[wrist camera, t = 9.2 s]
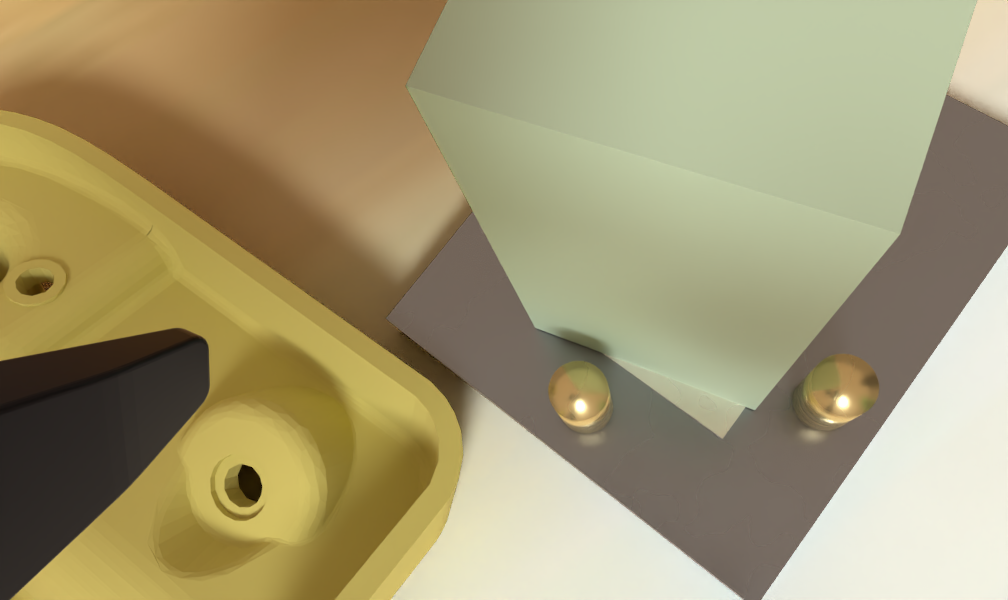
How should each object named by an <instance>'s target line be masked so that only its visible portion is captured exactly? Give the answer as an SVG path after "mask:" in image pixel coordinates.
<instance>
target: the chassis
mask: <svg viewBox="0 0 1008 600" xmlns="http://www.w3.org/2000/svg"><path fill="white" fill-rule="evenodd" d="M1007 246H1008V126H1007V125H1005V124H1003V123H1001V122H999V121H997V120H995V119H993V118H991V117H989V116H987V115H985V114H983V113H981V112H979V111H977V110H975V109H973V108H971V107H969V106H967V105H965V104H963V103H961V102H960V101H958V100H956V99H954V98H952V97H950V96H948V95H946V97H945V100H944V103H943V106H942V109H941V112H940V115H939V118H938V121H937V124H936V127H935V130H934V133H933V136H932V139H931V142H930V145H929V148H928V151H927V155H926V158H925V161H924V164H923V167H922V170H921V173H920V176H919V179H918V182H917V185H916V188H915V191H914V194H913V197H912V200H911V203H910V206H909V209H908V212H907V215H906V218H905V221H904V224H903V227H902V230H901V234H900V235H899V236H898V237H897V239H896V240H895V241H894V242H893V244H892V245H891V246H890V247H889V248H888V250H887V251H886V252H885V253H884V254H883V256H882V257H881V258H880V259H879V261H878V262H877V263H876V264H875V265H874V267H873V268H872V269H871V270H870V271H869V273H868V274H867V275H866V276H865V277H864V279H863V280H862V281H861V282H860V284H859V285H858V286H857V287H856V288H855V290H854V291H853V292H852V293H851V294H850V296H849V297H848V298H847V299H846V301H845V302H844V303H843V304H842V305H841V307H840V308H839V309H838V310H837V311H836V313H835V314H834V315H833V316H832V317H831V319H830V320H829V321H828V322H827V324H826V325H825V326H824V327H823V328H822V330H821V331H820V332H819V333H818V334H817V336H816V337H815V338H814V339H813V341H812V342H811V343H810V344H809V345H808V347H807V348H806V349H805V350H804V351H803V353H802V354H801V355H800V356H799V357H798V359H797V360H796V361H795V362H794V364H793V365H792V366H791V367H790V368H789V370H788V371H787V372H786V373H785V374H784V376H783V377H782V378H781V379H780V381H779V382H778V383H777V384H776V385H775V387H774V388H773V389H772V390H771V391H770V393H769V394H768V395H767V396H766V397H765V399H764V400H763V401H762V402H761V404H760V405H759V406H758V407H757V408H756V410H753V409H750V408H747V407H745V406H742V405H739V404H737V403H734V402H731V401H729V400H726V399H723V398H721V397H718V396H715V395H713V394H710V393H707V392H705V391H702V390H699V389H697V388H694V387H691V386H689V385H686V384H684V383H681V382H678V381H676V380H673V379H670V378H668V377H665V376H662V375H660V374H657V373H654V372H652V371H649V370H646V369H644V368H641V367H638V366H636V365H633V364H630V363H628V362H625V361H622V360H620V359H617V358H614V357H612V356H609V355H606V354H604V353H601V352H598V351H596V350H593V349H590V348H588V347H585V346H582V345H580V344H577V343H574V342H572V341H569V340H566V339H564V338H561V337H558V336H556V335H553V334H550V333H548V332H545V331H542V330H540V329H537V328H535V327H534V325H533V323H532V321H531V319H530V317H529V315H528V313H527V312H526V310H525V308H524V306H523V304H522V302H521V300H520V299H519V297H518V295H517V293H516V291H515V289H514V287H513V285H512V284H511V282H510V280H509V278H508V276H507V274H506V272H505V271H504V269H503V267H502V265H501V263H500V261H499V259H498V258H497V256H496V254H495V252H494V250H493V248H492V246H491V244H490V243H489V241H488V239H487V237H486V235H485V233H484V231H483V230H482V228H481V226H480V224H479V222H478V220H477V218H476V216H475V215H474V213H473V212H472V213H471V214H470V215H469V217H468V218H467V219H466V220H465V221H464V223H463V224H462V225H461V226H460V228H459V229H458V230H457V231H456V233H455V234H454V235H453V236H452V237H451V239H450V240H449V241H448V242H447V244H446V245H445V246H444V247H443V249H442V250H441V251H440V252H439V253H438V255H437V256H436V257H435V258H434V260H433V261H432V262H431V263H430V265H429V266H428V267H427V268H426V270H425V271H424V272H423V273H422V274H421V276H420V277H419V278H418V279H417V281H416V282H415V283H414V284H413V286H412V287H411V288H410V289H409V290H408V292H407V293H406V294H405V295H404V297H403V298H402V299H401V300H400V302H399V303H398V304H397V305H396V306H395V308H394V309H393V310H392V311H391V313H390V314H389V315H388V316H387V318H386V319H387V320H388V321H389V322H390V323H392V324H393V325H394V326H395V327H396V328H398V329H399V330H400V331H401V332H403V333H404V334H405V335H406V336H408V337H409V338H410V339H412V340H413V341H414V342H415V343H417V344H418V345H419V346H420V347H422V348H423V349H424V350H426V351H427V352H428V353H429V354H431V355H432V356H433V357H434V358H436V359H437V360H438V361H440V362H441V363H442V364H443V365H445V366H446V367H447V368H448V369H450V370H451V371H452V372H454V373H455V374H456V375H457V376H459V377H460V378H461V379H463V380H464V381H465V382H466V383H468V384H469V385H470V386H471V387H473V388H474V389H475V390H477V391H478V392H479V393H480V394H482V395H483V396H484V397H485V398H487V399H488V400H489V401H491V402H492V403H493V404H494V405H496V406H497V407H498V408H500V409H501V410H502V411H503V412H505V413H506V414H507V415H508V416H510V417H511V418H512V419H514V420H515V421H516V422H517V423H519V424H520V425H521V426H522V427H524V428H525V429H526V430H528V431H529V432H530V433H531V434H533V435H534V436H535V437H536V438H538V439H539V440H540V441H542V442H543V443H544V444H545V445H547V446H548V447H549V448H551V449H552V450H553V451H554V452H556V453H557V454H558V455H559V456H561V457H562V458H563V459H565V460H566V461H567V462H568V463H570V464H571V465H572V466H573V467H575V468H576V469H577V470H579V471H580V472H581V473H582V474H584V475H585V476H586V477H587V478H589V479H590V480H591V481H593V482H594V483H595V484H596V485H598V486H599V487H600V488H602V489H603V490H604V491H605V492H607V493H608V494H609V495H610V496H612V497H613V498H614V499H616V500H617V501H618V502H619V503H621V504H622V505H623V506H624V507H626V508H627V509H628V510H630V511H631V512H632V513H633V514H635V515H636V516H637V517H638V518H640V519H641V520H642V521H644V522H645V523H646V524H647V525H649V526H650V527H651V528H653V529H654V530H655V531H656V532H658V533H659V534H660V535H661V536H663V537H664V538H665V539H667V540H668V541H669V542H670V543H672V544H673V545H674V546H675V547H677V548H678V549H679V550H681V551H682V552H683V553H684V554H686V555H687V556H688V557H689V558H691V559H692V560H693V561H695V562H696V563H697V564H698V565H700V566H701V567H702V568H704V569H705V570H706V571H707V572H709V573H710V574H711V575H712V576H714V577H715V578H716V579H718V580H719V581H720V582H721V583H723V584H724V585H725V586H726V587H728V588H729V589H730V590H732V591H733V592H734V593H735V594H737V595H738V596H739V597H740V598H742V599H743V600H761V599H762V597H763V596H764V595H765V593H766V592H767V590H768V589H769V587H770V586H771V584H772V583H773V582H774V580H775V579H776V577H777V576H778V574H779V573H780V572H781V570H782V569H783V567H784V566H785V564H786V563H787V561H788V560H789V559H790V557H791V556H792V554H793V553H794V551H795V550H796V549H797V547H798V546H799V544H800V543H801V541H802V540H803V538H804V537H805V536H806V534H807V533H808V531H809V530H810V528H811V527H812V526H813V524H814V523H815V521H816V520H817V518H818V517H819V516H820V514H821V513H822V511H823V510H824V508H825V507H826V505H827V504H828V503H829V501H830V500H831V498H832V497H833V495H834V494H835V493H836V491H837V490H838V488H839V487H840V485H841V484H842V482H843V481H844V480H845V478H846V477H847V475H848V474H849V472H850V471H851V470H852V468H853V467H854V465H855V464H856V462H857V461H858V460H859V458H860V457H861V455H862V454H863V452H864V451H865V449H866V448H867V447H868V445H869V444H870V442H871V441H872V439H873V438H874V437H875V435H876V434H877V432H878V431H879V429H880V428H881V426H882V425H883V424H884V422H885V421H886V419H887V418H888V416H889V415H890V414H891V412H892V411H893V409H894V408H895V406H896V405H897V404H898V402H899V401H900V399H901V398H902V396H903V395H904V393H905V392H906V391H907V389H908V388H909V386H910V385H911V383H912V382H913V381H914V379H915V378H916V376H917V375H918V373H919V372H920V370H921V369H922V368H923V366H924V365H925V363H926V362H927V360H928V359H929V358H930V356H931V355H932V353H933V352H934V350H935V349H936V348H937V346H938V345H939V343H940V342H941V340H942V339H943V337H944V336H945V335H946V333H947V332H948V330H949V329H950V327H951V326H952V325H953V323H954V322H955V320H956V319H957V317H958V316H959V314H960V313H961V312H962V310H963V309H964V307H965V306H966V304H967V303H968V302H969V300H970V299H971V297H972V296H973V294H974V293H975V292H976V290H977V289H978V287H979V286H980V284H981V283H982V281H983V280H984V279H985V277H986V276H987V274H988V273H989V271H990V270H991V269H992V267H993V266H994V264H995V263H996V261H997V260H998V258H999V257H1000V256H1001V254H1002V253H1003V251H1004V250H1005V248H1006V247H1007Z"/></svg>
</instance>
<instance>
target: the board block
mask: <svg viewBox="0 0 1008 600" xmlns="http://www.w3.org/2000/svg"><path fill="white" fill-rule="evenodd" d="M976 3H977V0H448V1H447V3H446V5H445V7H444V9H443V11H442V13H441V15H440V17H439V19H438V21H437V23H436V25H435V27H434V29H433V31H432V33H431V35H430V37H429V39H428V41H427V43H426V45H425V47H424V49H423V51H422V53H421V55H420V57H419V59H418V61H417V63H416V65H415V67H414V69H413V72H412V74H411V76H410V78H409V80H408V82H407V84H406V88H407V90H408V91H409V93H410V95H411V97H412V99H413V101H414V103H415V104H416V106H417V108H418V110H419V112H420V114H421V116H422V118H423V119H424V121H425V123H426V125H427V127H428V129H429V131H430V132H431V134H432V136H433V138H434V140H435V142H436V144H437V146H438V147H439V149H440V151H441V153H442V155H443V157H444V159H445V160H446V162H447V164H448V166H449V168H450V170H451V172H452V174H453V175H454V177H455V179H456V181H457V183H458V185H459V187H460V188H461V190H462V192H463V194H464V196H465V198H466V200H467V202H468V203H469V205H470V207H471V209H472V211H473V213H474V215H475V216H476V218H477V220H478V222H479V224H480V226H481V228H482V230H483V231H484V233H485V235H486V237H487V239H488V241H489V243H490V244H491V246H492V248H493V250H494V252H495V254H496V256H497V258H498V259H499V261H500V263H501V265H502V267H503V269H504V271H505V272H506V274H507V276H508V278H509V280H510V282H511V284H512V285H513V287H514V289H515V291H516V293H517V295H518V297H519V299H520V300H521V302H522V304H523V306H524V308H525V310H526V312H527V313H528V315H529V317H530V319H531V321H532V323H533V325H534V327H535V328H537V329H540V330H542V331H545V332H548V333H550V334H553V335H556V336H558V337H561V338H564V339H566V340H569V341H572V342H574V343H577V344H580V345H582V346H585V347H588V348H590V349H593V350H596V351H598V352H601V353H604V354H606V355H609V356H612V357H614V358H617V359H620V360H622V361H625V362H628V363H630V364H633V365H636V366H638V367H641V368H644V369H646V370H649V371H652V372H654V373H657V374H660V375H662V376H665V377H668V378H670V379H673V380H676V381H678V382H681V383H684V384H686V385H689V386H691V387H694V388H697V389H699V390H702V391H705V392H707V393H710V394H713V395H715V396H718V397H721V398H723V399H726V400H729V401H731V402H734V403H737V404H739V405H742V406H745V407H747V408H750V409H753V410H756V408H757V407H758V406H759V405H760V404H761V402H762V401H763V400H764V399H765V397H766V396H767V395H768V394H769V393H770V391H771V390H772V389H773V388H774V387H775V385H776V384H777V383H778V382H779V381H780V379H781V378H782V377H783V376H784V374H785V373H786V372H787V371H788V370H789V368H790V367H791V366H792V365H793V364H794V362H795V361H796V360H797V359H798V357H799V356H800V355H801V354H802V353H803V351H804V350H805V349H806V348H807V347H808V345H809V344H810V343H811V342H812V341H813V339H814V338H815V337H816V336H817V334H818V333H819V332H820V331H821V330H822V328H823V327H824V326H825V325H826V324H827V322H828V321H829V320H830V319H831V317H832V316H833V315H834V314H835V313H836V311H837V310H838V309H839V308H840V307H841V305H842V304H843V303H844V302H845V301H846V299H847V298H848V297H849V296H850V294H851V293H852V292H853V291H854V290H855V288H856V287H857V286H858V285H859V284H860V282H861V281H862V280H863V279H864V277H865V276H866V275H867V274H868V273H869V271H870V270H871V269H872V268H873V267H874V265H875V264H876V263H877V262H878V261H879V259H880V258H881V257H882V256H883V254H884V253H885V252H886V251H887V250H888V248H889V247H890V246H891V245H892V244H893V242H894V241H895V240H896V239H897V237H898V236H899V235H900V234H901V230H902V227H903V224H904V221H905V218H906V215H907V212H908V209H909V206H910V203H911V200H912V197H913V194H914V191H915V188H916V185H917V182H918V179H919V176H920V173H921V170H922V167H923V164H924V161H925V158H926V155H927V151H928V148H929V145H930V142H931V139H932V136H933V133H934V130H935V127H936V124H937V121H938V118H939V115H940V112H941V109H942V106H943V103H944V100H945V97H946V94H947V91H948V88H949V85H950V82H951V79H952V76H953V72H954V69H955V66H956V63H957V60H958V57H959V54H960V51H961V48H962V45H963V42H964V39H965V36H966V33H967V30H968V27H969V24H970V21H971V18H972V15H973V12H974V9H975V6H976Z"/></svg>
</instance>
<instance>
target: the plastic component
mask: <svg viewBox="0 0 1008 600" xmlns="http://www.w3.org/2000/svg"><path fill="white" fill-rule="evenodd" d="M44 282H50V283H53V285H52V286H51V287H50V288H49V289H48V290H47V291H45V289H44V287H43V285H42V283H44ZM171 328H183V329H186V330H188V331H190V332H193V333H195V334H197V335H200V336H202V337H203V338H204V339H206V341H207V343H208V346H209V368H210V389H209V393H208V395H207V397H206V399H205V401H204V402H203V404H202V405H201V406H200V407H199V409H198V410H197V411H196V412H195V413H194V414H193V416H192V417H191V418H190V419H189V420H188V421H187V422H186V424H185V425H184V426H183V427H182V428H181V429H180V430H179V432H178V433H177V434H176V435H175V436H174V437H173V438H172V440H171V441H170V442H169V443H168V444H167V445H166V446H165V448H164V449H163V450H162V451H161V452H160V453H159V454H158V456H157V457H156V458H155V459H154V460H153V461H152V462H151V464H150V465H149V466H148V467H147V468H146V469H145V471H144V472H143V473H142V474H141V475H140V476H139V477H138V478H137V479H136V480H135V481H134V482H133V484H132V485H131V486H130V487H129V488H128V489H127V490H126V491H125V492H124V493H123V494H122V495H121V496H120V497H119V498H118V499H117V500H116V501H115V502H114V503H112V504H111V505H110V506H109V507H108V508H107V509H106V510H105V511H104V512H103V513H102V514H101V515H100V516H99V517H98V518H97V519H95V520H94V521H93V522H92V523H91V524H90V525H89V526H88V527H87V528H86V529H85V530H84V531H83V532H82V533H81V534H80V535H79V536H77V537H76V538H75V539H74V540H73V541H72V542H71V543H70V544H69V545H68V546H67V547H66V548H65V549H64V550H63V551H62V552H60V553H59V554H58V555H57V556H56V557H55V558H54V559H53V560H52V561H51V562H50V563H49V564H48V565H47V566H46V567H45V568H44V569H42V570H41V571H40V572H39V573H38V574H37V575H36V576H35V577H34V578H33V579H32V580H31V581H30V582H29V583H28V584H27V585H25V586H24V587H23V588H22V589H21V590H20V591H19V592H18V593H17V594H16V595H15V596H14V597H13V598H12V599H11V600H391V598H392V597H393V596H394V594H395V593H396V592H397V591H398V589H399V588H400V587H401V585H402V584H403V583H404V582H405V580H406V579H407V578H408V576H409V575H410V574H411V573H412V571H413V570H414V569H415V567H416V566H417V565H418V564H419V562H420V561H421V560H422V558H423V557H424V556H425V555H426V553H427V552H428V551H429V550H430V548H431V547H432V546H433V544H434V543H435V542H436V540H437V539H438V537H439V536H440V534H441V532H442V530H443V528H444V526H445V524H446V521H447V518H448V515H449V511H450V508H451V504H452V501H453V497H454V493H455V490H456V486H457V483H458V479H459V474H460V469H461V463H462V458H463V447H462V435H461V429H460V427H459V424H458V421H457V418H456V415H455V412H454V411H453V409H452V407H451V406H450V404H449V402H448V401H447V399H446V397H445V396H444V395H443V394H442V393H441V392H440V391H439V390H438V389H437V388H436V387H435V386H434V384H433V383H432V382H431V381H429V380H428V379H426V378H425V377H424V376H422V375H421V374H419V373H418V372H417V371H415V370H414V369H412V368H411V367H409V366H408V365H407V364H405V363H404V362H402V361H401V360H400V359H398V358H397V357H395V356H394V355H393V354H391V353H390V352H388V351H387V350H386V349H384V348H383V347H381V346H380V345H378V344H377V343H376V342H374V341H373V340H371V339H370V338H369V337H367V336H366V335H364V334H363V333H362V332H360V331H359V330H357V329H356V328H355V327H353V326H352V325H350V324H349V323H348V322H346V321H345V320H343V319H342V318H340V317H339V316H338V315H336V314H335V313H333V312H332V311H331V310H329V309H328V308H326V307H325V306H324V305H322V304H321V303H319V302H318V301H317V300H315V299H314V298H312V297H311V296H310V295H308V294H307V293H305V292H304V291H302V290H301V289H300V288H298V287H297V286H295V285H294V284H293V283H291V282H290V281H288V280H287V279H286V278H284V277H283V276H281V275H280V274H279V273H277V272H276V271H274V270H273V269H272V268H270V267H269V266H267V265H266V264H264V263H263V262H262V261H260V260H259V259H257V258H256V257H255V256H253V255H252V254H250V253H249V252H248V251H246V250H245V249H243V248H242V247H241V246H239V245H238V244H236V243H235V242H234V241H232V240H231V239H229V238H228V237H226V236H225V235H224V234H222V233H221V232H219V231H218V230H217V229H215V228H214V227H212V226H211V225H210V224H208V223H207V222H205V221H204V220H203V219H201V218H200V217H198V216H197V215H196V214H194V213H193V212H191V211H190V210H188V209H187V208H186V207H184V206H183V205H181V204H180V203H179V202H177V201H176V200H174V199H173V198H172V197H170V196H169V195H167V194H166V193H165V192H163V191H162V190H160V189H159V188H158V187H156V186H155V185H153V184H152V183H150V182H149V181H148V180H146V179H145V178H143V177H142V176H140V175H139V174H137V173H136V172H134V171H133V170H131V169H130V168H128V167H127V166H125V165H124V164H122V163H121V162H119V161H118V160H116V159H115V158H113V157H112V156H110V155H109V154H107V153H106V152H104V151H103V150H101V149H99V148H97V147H96V146H94V145H92V144H91V143H89V142H87V141H86V140H84V139H82V138H80V137H78V136H76V135H74V134H72V133H70V132H68V131H66V130H64V129H62V128H60V127H59V126H56V125H53V124H51V123H48V122H45V121H43V120H40V119H37V118H35V117H31V116H27V115H23V114H19V113H15V112H10V111H4V110H0V361H2V360H7V359H13V358H18V357H23V356H28V355H34V354H39V353H44V352H50V351H55V350H60V349H65V348H71V347H76V346H81V345H87V344H92V343H97V342H102V341H108V340H113V339H118V338H124V337H129V336H134V335H139V334H145V333H150V332H155V331H161V330H166V329H171ZM242 464H244V465H247V466H250V467H253V468H254V470H255V471H256V472H257V473H258V475H259V476H260V479H261V483H262V493H261V496H260V498H259V500H258V502H256V501H253V500H250V499H248V498H246V496H245V495H244V494H243V492H242V491H241V490H240V488H239V482H238V473H239V471H240V469H241V466H242Z"/></svg>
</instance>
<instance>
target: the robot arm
mask: <svg viewBox="0 0 1008 600" xmlns="http://www.w3.org/2000/svg"><path fill="white" fill-rule="evenodd" d="M209 389H210V368H209V346H208V343H207V341H206V339H204V338H203V337H202V336H200V335H197V334H195V333H193V332H190V331H188V330H186V329H183V328H171V329H166V330H161V331H155V332H150V333H145V334H139V335H134V336H129V337H124V338H118V339H113V340H108V341H102V342H97V343H92V344H87V345H81V346H76V347H71V348H65V349H60V350H55V351H50V352H44V353H39V354H34V355H28V356H23V357H18V358H13V359H7V360H2V361H0V600H11V599H12V598H13V597H14V596H15V595H16V594H17V593H18V592H19V591H20V590H21V589H22V588H23V587H24V586H25V585H27V584H28V583H29V582H30V581H31V580H32V579H33V578H34V577H35V576H36V575H37V574H38V573H39V572H40V571H41V570H42V569H44V568H45V567H46V566H47V565H48V564H49V563H50V562H51V561H52V560H53V559H54V558H55V557H56V556H57V555H58V554H59V553H60V552H62V551H63V550H64V549H65V548H66V547H67V546H68V545H69V544H70V543H71V542H72V541H73V540H74V539H75V538H76V537H77V536H79V535H80V534H81V533H82V532H83V531H84V530H85V529H86V528H87V527H88V526H89V525H90V524H91V523H92V522H93V521H94V520H95V519H97V518H98V517H99V516H100V515H101V514H102V513H103V512H104V511H105V510H106V509H107V508H108V507H109V506H110V505H111V504H112V503H114V502H115V501H116V500H117V499H118V498H119V497H120V496H121V495H122V494H123V493H124V492H125V491H126V490H127V489H128V488H129V487H130V486H131V485H132V484H133V482H134V481H135V480H136V479H137V478H138V477H139V476H140V475H141V474H142V473H143V472H144V471H145V469H146V468H147V467H148V466H149V465H150V464H151V462H152V461H153V460H154V459H155V458H156V457H157V456H158V454H159V453H160V452H161V451H162V450H163V449H164V448H165V446H166V445H167V444H168V443H169V442H170V441H171V440H172V438H173V437H174V436H175V435H176V434H177V433H178V432H179V430H180V429H181V428H182V427H183V426H184V425H185V424H186V422H187V421H188V420H189V419H190V418H191V417H192V416H193V414H194V413H195V412H196V411H197V410H198V409H199V407H200V406H201V405H202V404H203V402H204V401H205V399H206V397H207V395H208V393H209Z"/></svg>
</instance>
